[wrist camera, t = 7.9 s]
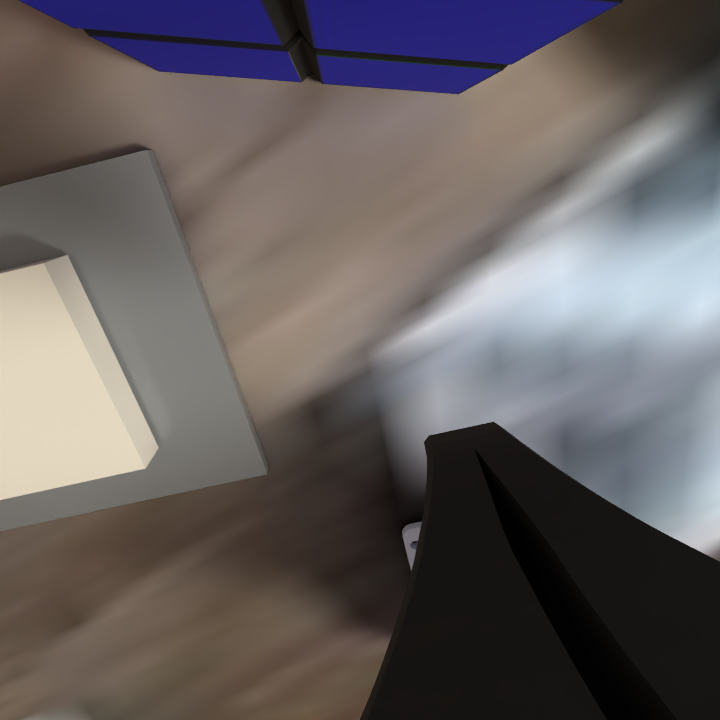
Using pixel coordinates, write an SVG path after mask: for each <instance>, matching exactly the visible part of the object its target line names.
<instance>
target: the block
mask: <svg viewBox="0 0 720 720" xmlns="http://www.w3.org/2000/svg"><path fill="white" fill-rule="evenodd" d="M158 448H159V447H158V445H157V443H156V441H155V439H154V437H153V434H152V432H151V430H150V428H149V426H148V424H147V422H146V420H145V418H144V415H143V413H142V411H141V409H140V407H139V405H138V403H137V401H136V399H135V396H134V394H133V392H132V390H131V388H130V386H129V384H128V382H127V379H126V377H125V375H124V373H123V371H122V369H121V367H120V365H119V363H118V360H117V358H116V356H115V354H114V352H113V350H112V348H111V346H110V344H109V341H108V339H107V337H106V335H105V333H104V331H103V329H102V327H101V325H100V322H99V320H98V318H97V316H96V314H95V312H94V310H93V308H92V306H91V303H90V301H89V299H88V297H87V295H86V293H85V291H84V289H83V287H82V284H81V282H80V280H79V278H78V276H77V274H76V272H75V270H74V268H73V265H72V263H71V261H70V259H69V257H68V255H65V256H61V257H57V258H53V259H49V260H45V261H40V262H36V263H32V264H28V265H24V266H20V267H16V268H11V269H7V270H3V271H0V500H3V499H7V498H12V497H17V496H21V495H26V494H30V493H35V492H40V491H44V490H49V489H53V488H58V487H63V486H67V485H72V484H77V483H81V482H86V481H90V480H95V479H100V478H104V477H109V476H113V475H118V474H123V473H127V472H132V471H136V470H141V469H146V467H147V466H148V464H149V462H150V461H151V459H152V458H153V456H154V454H155V453H156V451H157V450H158Z"/></svg>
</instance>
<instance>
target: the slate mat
mask: <svg viewBox="0 0 720 720" xmlns="http://www.w3.org/2000/svg"><path fill="white" fill-rule="evenodd" d="M65 255H68V257H69V259H70V261H71V263H72V265H73V268H74V270H75V272H76V274H77V276H78V278H79V280H80V282H81V284H82V287H83V289H84V291H85V293H86V295H87V297H88V299H89V301H90V303H91V306H92V308H93V310H94V312H95V314H96V316H97V318H98V320H99V322H100V325H101V327H102V329H103V331H104V333H105V335H106V337H107V339H108V341H109V344H110V346H111V348H112V350H113V352H114V354H115V356H116V358H117V360H118V363H119V365H120V367H121V369H122V371H123V373H124V375H125V377H126V379H127V382H128V384H129V386H130V388H131V390H132V392H133V394H134V396H135V399H136V401H137V403H138V405H139V407H140V409H141V411H142V413H143V415H144V418H145V420H146V422H147V424H148V426H149V428H150V430H151V432H152V434H153V437H154V439H155V441H156V443H157V445H158V447H159V448H158V450H157V451H156V453H155V454H154V456H153V458H152V459H151V461H150V462H149V464H148V466H147V467H146V469H141V470H136V471H132V472H127V473H123V474H118V475H113V476H109V477H104V478H100V479H95V480H90V481H86V482H81V483H77V484H72V485H67V486H63V487H58V488H53V489H49V490H44V491H40V492H35V493H30V494H26V495H21V496H17V497H12V498H7V499H3V500H0V531H5V530H9V529H14V528H19V527H23V526H28V525H33V524H37V523H42V522H47V521H51V520H56V519H61V518H66V517H70V516H75V515H80V514H84V513H89V512H94V511H98V510H103V509H108V508H112V507H117V506H122V505H126V504H131V503H136V502H140V501H145V500H150V499H154V498H159V497H164V496H168V495H173V494H178V493H183V492H187V491H192V490H197V489H201V488H206V487H211V486H215V485H220V484H225V483H229V482H234V481H239V480H243V479H248V478H253V477H257V476H262V475H267V474H268V470H269V466H268V463H267V460H266V457H265V455H264V452H263V449H262V447H261V444H260V441H259V438H258V436H257V433H256V430H255V428H254V425H253V422H252V419H251V417H250V414H249V411H248V408H247V406H246V403H245V400H244V398H243V395H242V392H241V389H240V387H239V384H238V381H237V379H236V376H235V373H234V370H233V368H232V365H231V362H230V360H229V357H228V354H227V351H226V349H225V346H224V343H223V340H222V338H221V335H220V332H219V330H218V327H217V324H216V321H215V319H214V316H213V313H212V311H211V308H210V305H209V302H208V300H207V297H206V294H205V292H204V289H203V286H202V283H201V281H200V278H199V275H198V272H197V270H196V267H195V264H194V262H193V259H192V256H191V253H190V251H189V248H188V245H187V243H186V240H185V237H184V234H183V232H182V229H181V226H180V224H179V221H178V218H177V215H176V213H175V210H174V207H173V204H172V202H171V199H170V196H169V194H168V191H167V188H166V185H165V183H164V180H163V177H162V175H161V172H160V169H159V166H158V164H157V161H156V158H155V156H154V153H153V150H144V151H140V152H136V153H132V154H128V155H124V156H120V157H116V158H112V159H108V160H104V161H100V162H96V163H92V164H88V165H84V166H80V167H76V168H72V169H68V170H64V171H60V172H56V173H52V174H48V175H44V176H40V177H36V178H32V179H28V180H24V181H20V182H16V183H12V184H8V185H4V186H0V271H3V270H7V269H11V268H16V267H20V266H24V265H28V264H32V263H36V262H40V261H45V260H49V259H53V258H57V257H61V256H65Z"/></svg>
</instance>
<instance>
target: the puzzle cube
mask: <svg viewBox="0 0 720 720" xmlns="http://www.w3.org/2000/svg"><path fill="white" fill-rule="evenodd" d="M19 1H21V2H23V3H25V4H27V5H29V6H31V7H33V8H35V9H37V10H39V11H41V12H43V13H45V14H47V15H49V16H51V17H53V18H55V19H57V20H59V21H61V22H63V23H65V24H67V25H69V26H71V27H72V28H80V29H83V30H84V31H85V32H86V33H87V34H88V35H89V36H91V37H93V38H95V39H96V40H98V41H100V42H102V43H104V44H106V45H108V46H110V47H112V48H114V49H116V50H118V51H120V52H122V53H124V54H126V55H128V56H130V57H132V58H134V59H136V60H138V61H140V62H142V63H144V64H146V65H148V66H150V67H152V68H154V69H156V70H158V71H161V72H175V73H188V74H201V75H214V76H227V77H240V78H253V79H266V80H279V81H293V82H302V81H303V80H304V79H305V78H306V77H307V76H308V75H309V74H310V73H311V72H313V73H314V74H315V75H316V77H317V78H318V79H319V80H320V82H321V83H322V84H332V85H345V86H358V87H372V88H385V89H398V90H411V91H424V92H437V93H450V94H460V93H461V92H463V91H465V90H467V89H469V88H471V87H473V86H474V85H476V84H478V83H480V82H482V81H484V80H485V79H487V78H489V77H491V76H493V75H495V74H497V73H498V72H500V71H502V70H503V69H504V68H506V67H507V66H508V65H509V64H510V65H511V64H513V63H515V62H517V61H519V60H520V59H522V58H524V57H526V56H527V55H529V54H531V53H533V52H535V51H536V50H538V49H540V48H542V47H543V46H545V45H547V44H549V43H551V42H552V41H554V40H556V39H558V38H559V37H561V36H563V35H565V34H567V33H568V32H570V31H572V30H574V29H575V28H577V27H579V26H581V25H583V24H584V23H586V22H588V21H590V20H591V19H593V18H595V17H597V16H599V15H600V14H602V13H604V12H606V11H607V10H609V9H611V8H613V7H614V6H616V5H618V4H620V3H622V2H623V1H624V0H19Z"/></svg>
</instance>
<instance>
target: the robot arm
mask: <svg viewBox="0 0 720 720" xmlns="http://www.w3.org/2000/svg"><path fill="white" fill-rule="evenodd" d="M424 445H425V450H426V455H427V485H426V494H425V502H424V511H423V518H422V521H421V522H417V523H412V524H409V525H406V526H405V527H404V528H403V530H402V535H403V540H404V544H405V548H406V552H407V557H408V561H409V565H410V569H411V574H410V578H409V582H408V586H407V589H406V593H405V596H404V600H403V603H402V606H401V610H400V613H399V616H398V619H397V623H396V625H395V628H394V631H393V634H392V637H391V640H390V643H389V646H388V648H387V651H386V654H385V657H384V660H383V663H382V666H381V668H380V671H379V674H378V676H377V679H376V682H375V684H374V687H373V689H372V692H371V694H370V697H369V699H368V702H367V704H366V706H365V709H364V711H363V713H362V716H361V718H360V720H720V562H719V561H717V560H715V559H713V558H711V557H709V556H707V555H705V554H703V553H702V552H700V551H698V550H696V549H694V548H692V547H690V546H688V545H686V544H684V543H682V542H680V541H678V540H676V539H674V538H672V537H670V536H668V535H666V534H664V533H662V532H661V531H659V530H657V529H655V528H653V527H651V526H650V525H648V524H646V523H644V522H642V521H641V520H639V519H637V518H635V517H634V516H632V515H630V514H629V513H627V512H625V511H624V510H622V509H620V508H619V507H617V506H615V505H614V504H612V503H610V502H608V501H607V500H605V499H604V498H602V497H601V496H599V495H597V494H596V493H594V492H593V491H591V490H589V489H588V488H586V487H585V486H583V485H582V484H580V483H579V482H577V481H576V480H574V479H573V478H571V477H570V476H568V475H567V474H565V473H564V472H562V471H561V470H559V469H558V468H557V467H555V466H554V465H552V464H551V463H549V462H548V461H547V460H545V459H544V458H542V457H541V456H540V455H538V454H537V453H535V452H534V451H533V450H531V449H530V448H529V447H527V446H526V445H525V444H523V443H522V442H521V441H519V440H518V439H517V438H515V437H514V436H513V435H511V434H510V433H509V432H507V431H506V430H505V429H503V428H502V427H501V426H499V425H498V424H496V423H495V422H491V423H486V424H481V425H477V426H472V427H467V428H463V429H458V430H453V431H449V432H444V433H439V434H435V435H430V436H428V438H427V439H426V440H425V442H424ZM413 541H418V542H417V543H412V542H413Z"/></svg>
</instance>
